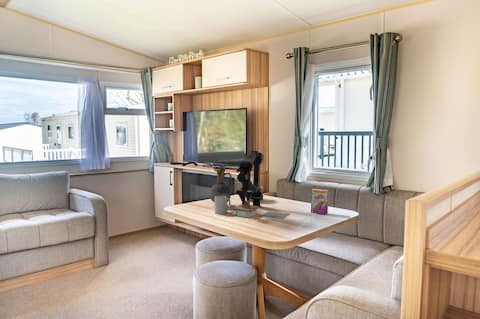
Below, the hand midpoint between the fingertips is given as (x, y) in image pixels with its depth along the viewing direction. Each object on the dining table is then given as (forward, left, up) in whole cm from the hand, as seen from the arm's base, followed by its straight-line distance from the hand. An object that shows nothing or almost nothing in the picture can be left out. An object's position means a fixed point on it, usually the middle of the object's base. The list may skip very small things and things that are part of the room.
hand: (246, 203), depth 229 cm
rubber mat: (-8, +18, -8) cm, 21 cm away
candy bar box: (-29, +42, -8) cm, 52 cm away
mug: (+1, -17, -8) cm, 19 cm away
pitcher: (-17, -28, -8) cm, 34 cm away
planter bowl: (-46, -16, -8) cm, 49 cm away
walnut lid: (0, 0, -4) cm, 4 cm away
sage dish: (0, 0, -8) cm, 8 cm away
